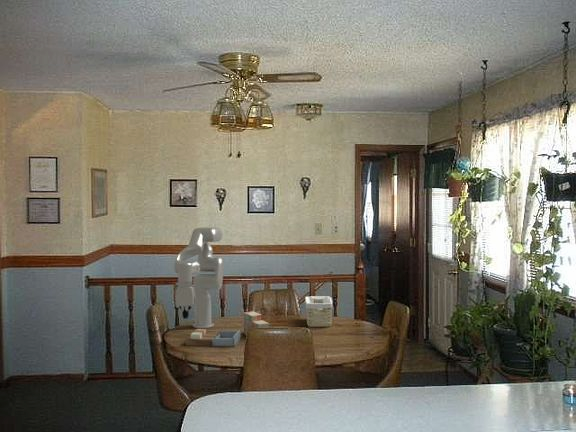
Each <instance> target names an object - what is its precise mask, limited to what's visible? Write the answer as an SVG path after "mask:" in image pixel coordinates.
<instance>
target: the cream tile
mask: <svg viewBox="0 0 576 432" xmlns="http://www.w3.org/2000/svg"><path fill="white" fill-rule="evenodd" d="M190 335H191V339H201V338H202V332H195V331H193V332H192V333H191V334H190Z"/></svg>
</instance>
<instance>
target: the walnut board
mask: <svg viewBox="0 0 576 432" xmlns="http://www.w3.org/2000/svg"><path fill="white" fill-rule="evenodd" d="M218 335H219V333H218V332H206V334H205V335H204V336H202V338H201V339H191V334H190V335H189V336H188V337H187V338H185V341H184V342H185V346H201V347H202V346H207V347H213V346H212V338H216V337H217V336H218Z"/></svg>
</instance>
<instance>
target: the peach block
mask: <svg viewBox="0 0 576 432" xmlns="http://www.w3.org/2000/svg"><path fill="white" fill-rule="evenodd" d="M194 332H202V336H204V335H205V334H206V333H207V328H196V329H195V330H194Z"/></svg>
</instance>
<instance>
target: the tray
mask: <svg viewBox="0 0 576 432" xmlns="http://www.w3.org/2000/svg"><path fill="white" fill-rule="evenodd" d="M218 332H219V333H218V336H217V337H216V338H212V346H211V347H225V348H226V347H228V348H231V347H232V348H233V347H236V346H237V345H238V343H239V342H240V340H242V330H241V328H240V329H239V330H219V331H218Z"/></svg>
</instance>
